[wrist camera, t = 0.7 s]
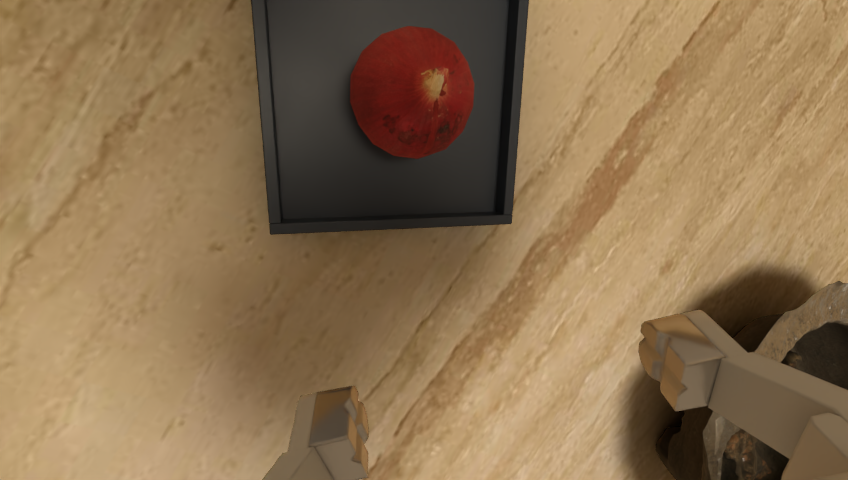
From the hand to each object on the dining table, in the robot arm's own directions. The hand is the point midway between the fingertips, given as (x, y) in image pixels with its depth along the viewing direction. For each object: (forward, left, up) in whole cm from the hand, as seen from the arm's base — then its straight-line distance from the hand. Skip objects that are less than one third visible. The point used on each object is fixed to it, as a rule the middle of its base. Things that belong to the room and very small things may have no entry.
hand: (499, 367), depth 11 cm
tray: (-8, 0, -15) cm, 17 cm away
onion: (-8, 0, -15) cm, 17 cm away
